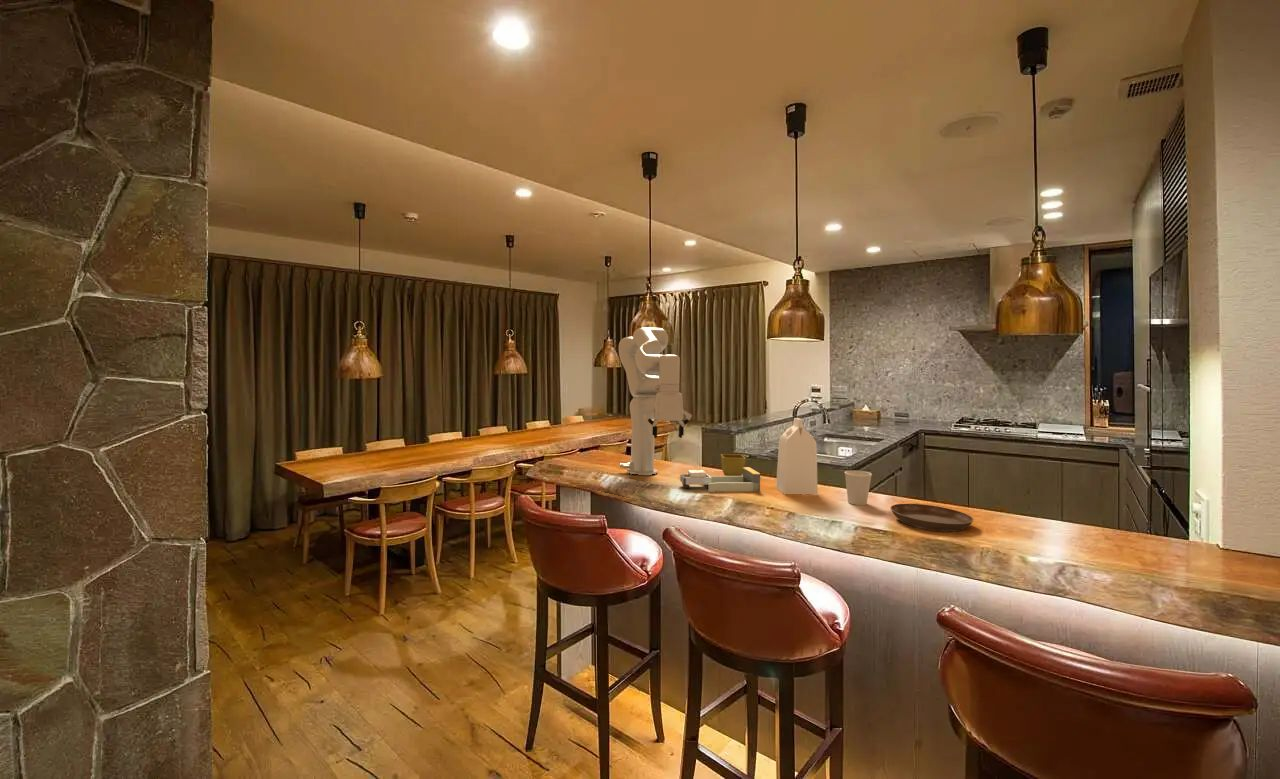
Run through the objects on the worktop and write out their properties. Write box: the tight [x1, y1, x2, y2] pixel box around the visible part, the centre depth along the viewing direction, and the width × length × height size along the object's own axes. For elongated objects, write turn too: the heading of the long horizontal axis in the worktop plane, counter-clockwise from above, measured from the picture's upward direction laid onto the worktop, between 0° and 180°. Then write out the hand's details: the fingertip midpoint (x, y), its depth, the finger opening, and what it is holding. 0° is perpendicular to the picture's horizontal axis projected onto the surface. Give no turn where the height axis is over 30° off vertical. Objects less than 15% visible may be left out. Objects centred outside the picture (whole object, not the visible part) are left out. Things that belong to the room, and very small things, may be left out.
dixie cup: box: [844, 470, 873, 506], centre depth 172 cm, size 8×8×10 cm
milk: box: [775, 417, 819, 496], centre depth 188 cm, size 12×12×26 cm
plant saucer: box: [890, 503, 974, 532], centre depth 150 cm, size 21×21×3 cm
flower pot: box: [720, 453, 747, 476], centre depth 210 cm, size 9×9×9 cm
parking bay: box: [707, 466, 761, 493], centre depth 192 cm, size 19×15×6 cm
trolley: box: [679, 469, 712, 490], centre depth 191 cm, size 10×7×6 cm
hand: (667, 437), depth 190 cm, fingers open, 8 cm apart
